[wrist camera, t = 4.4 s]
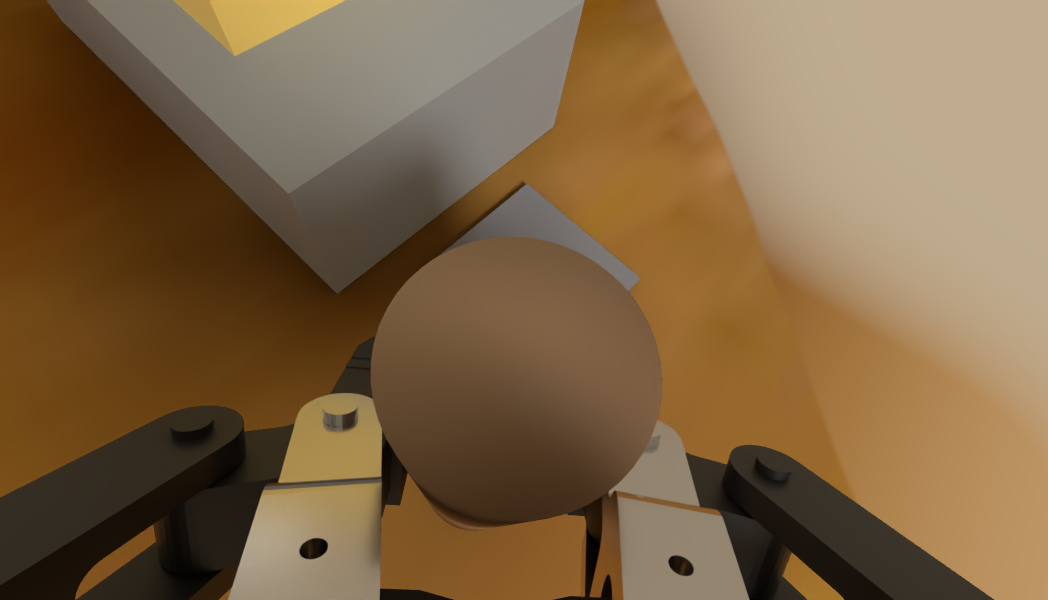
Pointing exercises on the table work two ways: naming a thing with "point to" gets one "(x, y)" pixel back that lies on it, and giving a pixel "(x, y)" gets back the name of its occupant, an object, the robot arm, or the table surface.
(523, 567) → the table surface
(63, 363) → the table surface
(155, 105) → the grey base plinth
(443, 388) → the brown wooden cylinder
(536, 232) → the rest pad
